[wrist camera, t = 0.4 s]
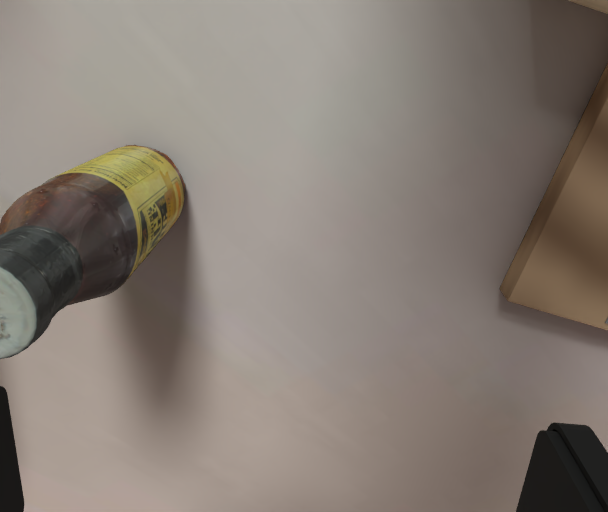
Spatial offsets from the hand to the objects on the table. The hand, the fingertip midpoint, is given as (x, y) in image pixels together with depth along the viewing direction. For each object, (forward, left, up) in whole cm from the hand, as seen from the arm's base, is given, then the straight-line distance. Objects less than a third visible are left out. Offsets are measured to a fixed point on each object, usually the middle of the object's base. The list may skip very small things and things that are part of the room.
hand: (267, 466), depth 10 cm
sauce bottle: (+5, -10, -29) cm, 31 cm away
